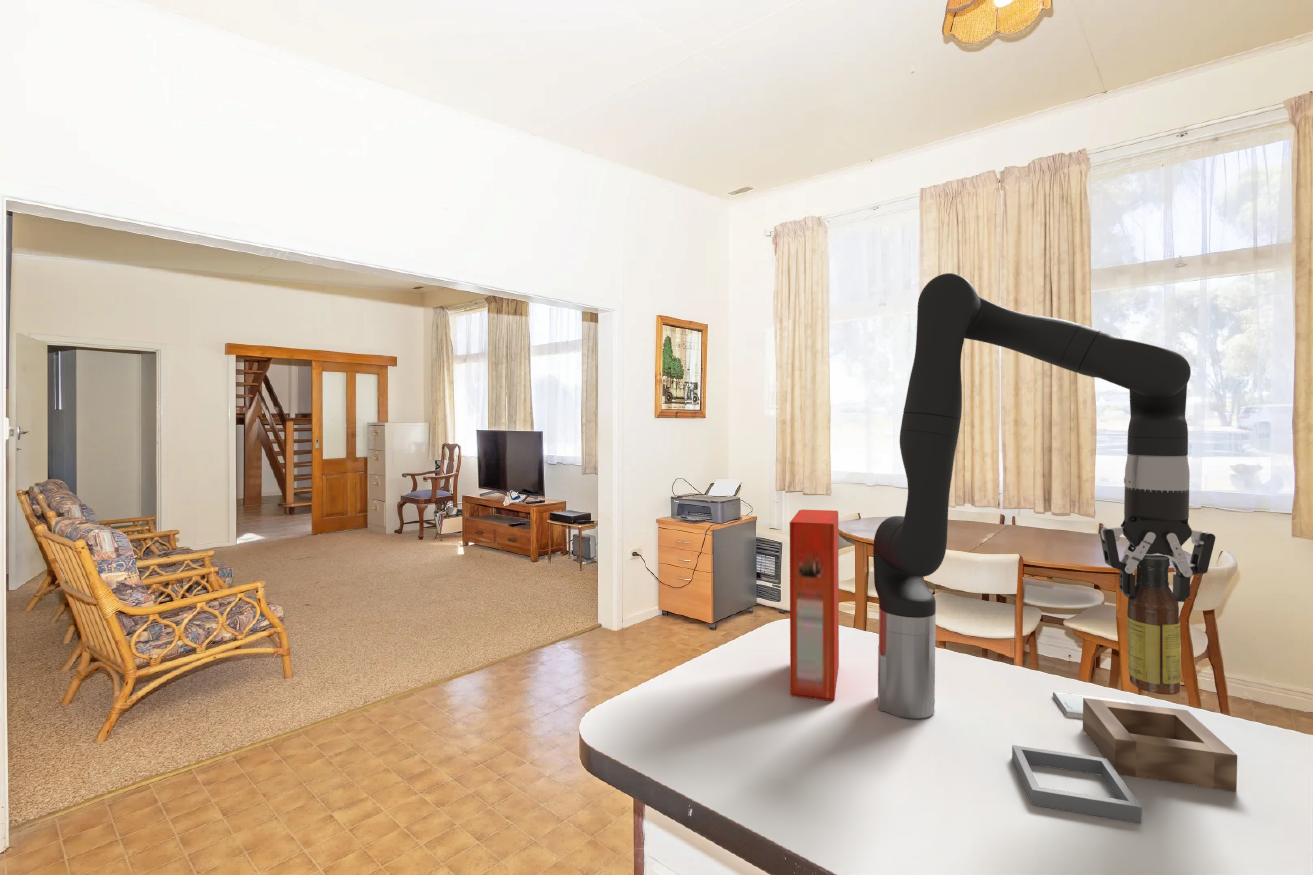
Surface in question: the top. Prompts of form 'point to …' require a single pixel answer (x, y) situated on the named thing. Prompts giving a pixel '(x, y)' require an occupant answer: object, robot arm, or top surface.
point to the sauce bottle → (1154, 629)
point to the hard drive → (1076, 703)
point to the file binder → (814, 604)
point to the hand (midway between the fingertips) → (1154, 598)
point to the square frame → (1070, 801)
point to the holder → (1159, 744)
